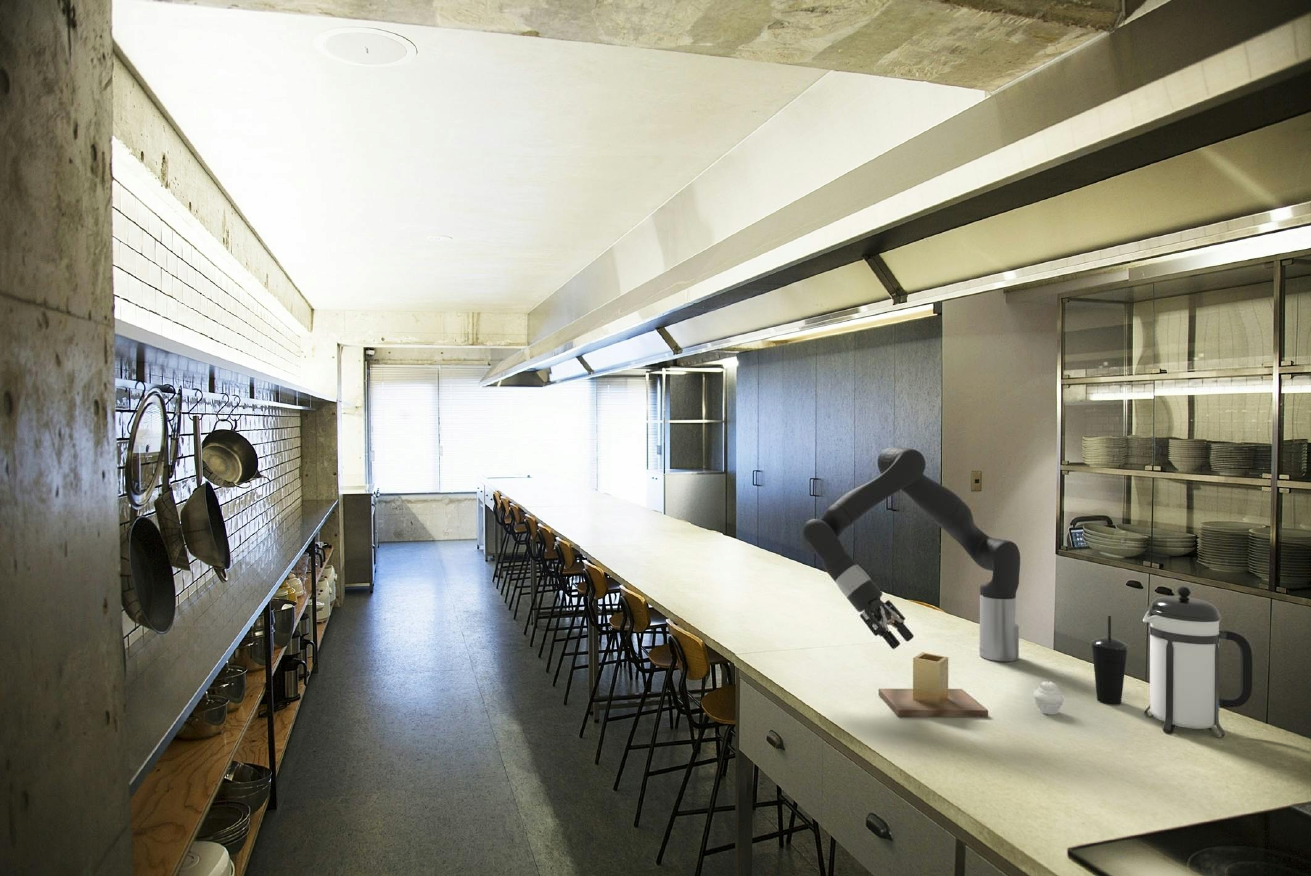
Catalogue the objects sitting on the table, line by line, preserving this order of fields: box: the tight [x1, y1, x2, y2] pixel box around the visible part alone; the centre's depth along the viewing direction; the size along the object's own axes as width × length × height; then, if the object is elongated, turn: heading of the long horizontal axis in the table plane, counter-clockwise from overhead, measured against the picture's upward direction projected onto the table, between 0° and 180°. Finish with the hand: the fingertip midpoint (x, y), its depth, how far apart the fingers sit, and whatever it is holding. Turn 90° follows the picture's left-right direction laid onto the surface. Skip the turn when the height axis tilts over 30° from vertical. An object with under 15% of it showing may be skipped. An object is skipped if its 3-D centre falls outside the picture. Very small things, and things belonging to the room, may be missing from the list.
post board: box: [878, 688, 989, 718], centre depth 172 cm, size 20×14×7 cm
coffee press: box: [1142, 586, 1253, 739], centre depth 160 cm, size 17×16×30 cm
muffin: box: [1032, 680, 1065, 716], centre depth 168 cm, size 6×6×7 cm
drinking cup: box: [1090, 615, 1130, 706], centre depth 175 cm, size 8×8×20 cm
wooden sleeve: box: [912, 652, 949, 705], centre depth 172 cm, size 6×6×10 cm
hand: (904, 642), depth 176 cm, fingers open, 8 cm apart
